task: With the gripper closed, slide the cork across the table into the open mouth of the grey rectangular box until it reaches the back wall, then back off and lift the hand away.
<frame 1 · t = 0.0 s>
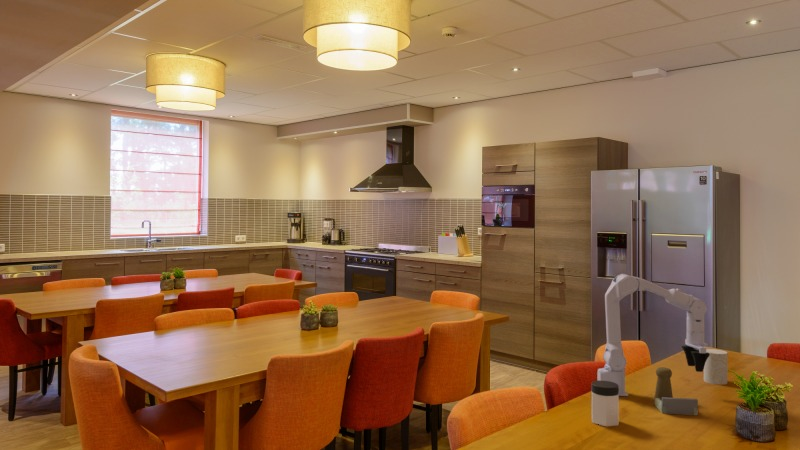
hand: (695, 368, 198), 10 cm above the table, fingers open, 7 cm apart
jar: (604, 422, 173), on the table
white stone cylinder: (715, 382, 217), on the table
grey rectangular box: (674, 408, 185), on the table
cork: (663, 399, 196), on the table
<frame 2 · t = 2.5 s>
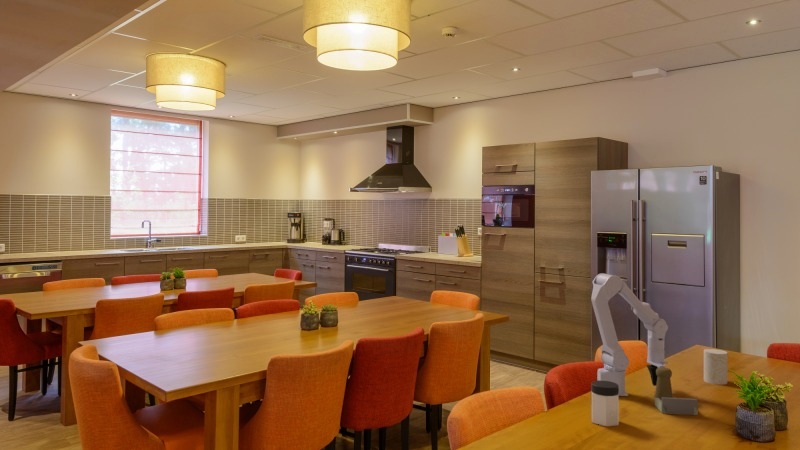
hand: (656, 385, 205), 2 cm above the table, fingers closed
nothing on the table moved.
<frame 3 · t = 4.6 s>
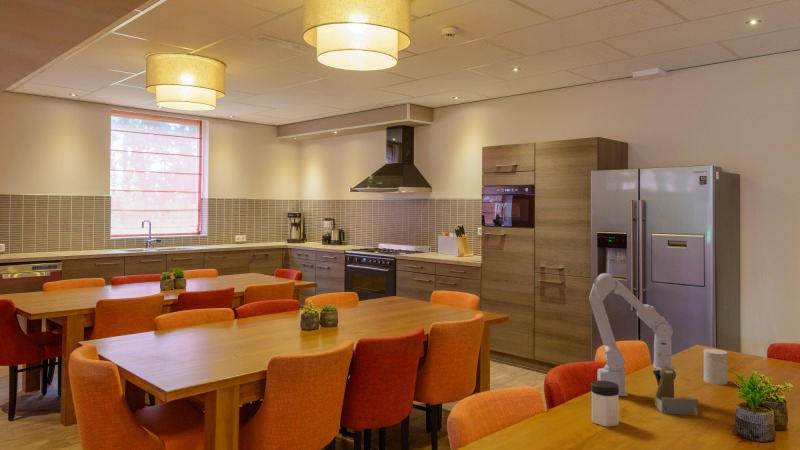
hand: (662, 391, 198), 2 cm above the table, fingers closed, pressing on cork
cork: (664, 397, 195), point 1 cm above the table, touching gripper
everything else where it was.
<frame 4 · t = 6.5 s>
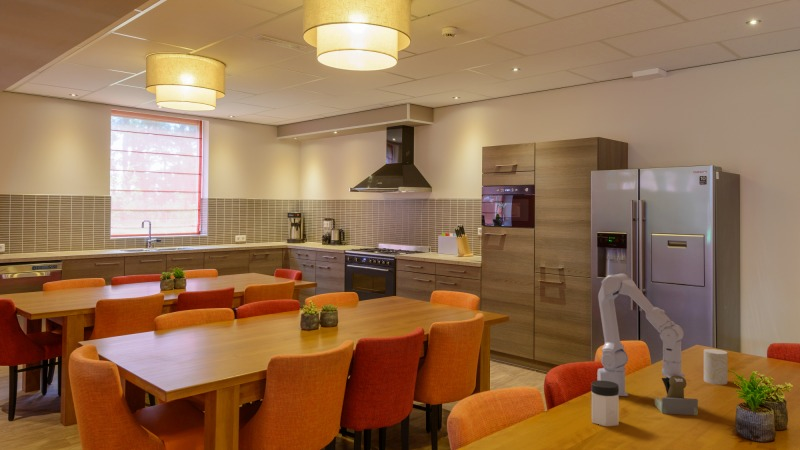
hand: (672, 400, 188), 2 cm above the table, fingers closed, pressing on cork
cork: (674, 406, 186), point 1 cm above the table, touching gripper
everything else where it was.
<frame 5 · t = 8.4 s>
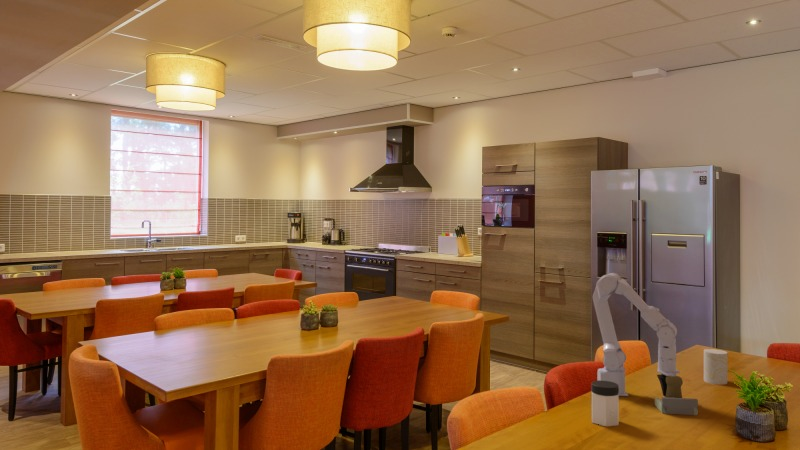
hand: (666, 396, 193), 2 cm above the table, fingers closed
cork: (673, 408, 186), on the table
everything else where it was.
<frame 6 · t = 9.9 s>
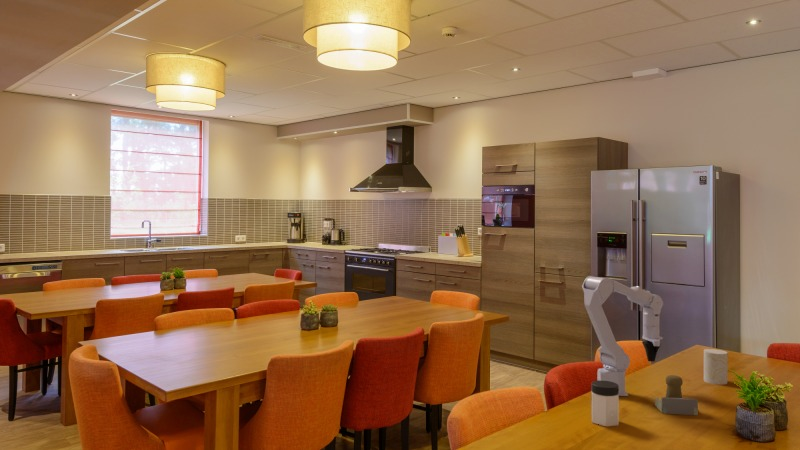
hand: (651, 361, 208), 10 cm above the table, fingers closed
nothing on the table moved.
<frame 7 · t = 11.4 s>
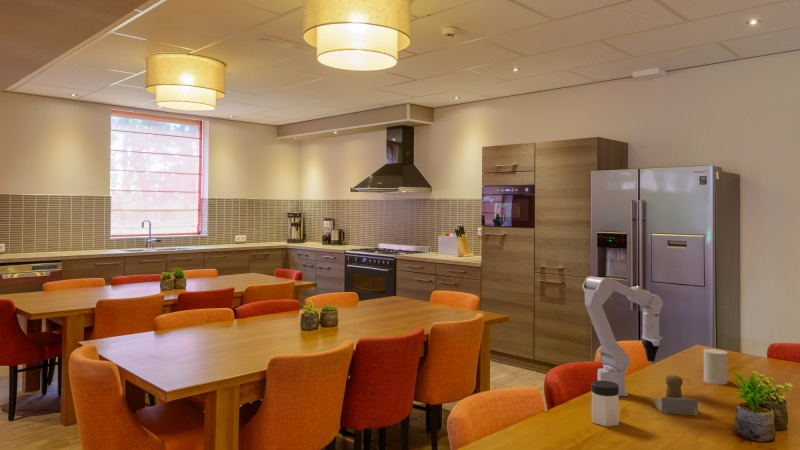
hand: (650, 360, 208), 10 cm above the table, fingers closed
nothing on the table moved.
at the end: cork 1.5 cm off-centre on the grey rectangular box, point 0.0 cm above the grey rectangular box's base; cork tilted 0°; the gripper is holding nothing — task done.
